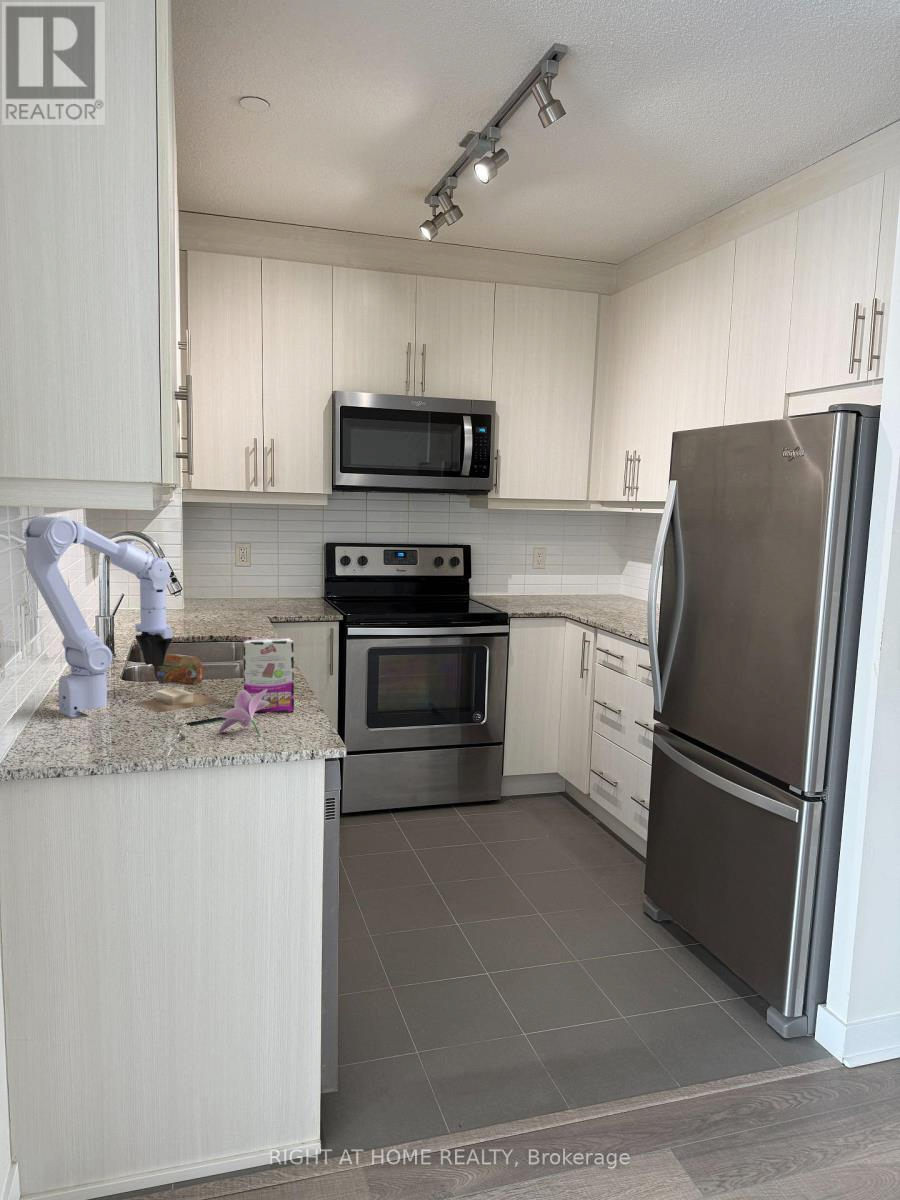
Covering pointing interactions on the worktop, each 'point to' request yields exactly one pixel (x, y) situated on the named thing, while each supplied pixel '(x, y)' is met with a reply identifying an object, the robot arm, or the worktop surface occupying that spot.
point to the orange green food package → (179, 669)
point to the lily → (244, 709)
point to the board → (162, 706)
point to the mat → (206, 721)
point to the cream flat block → (174, 696)
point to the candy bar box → (270, 672)
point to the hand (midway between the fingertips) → (154, 665)
